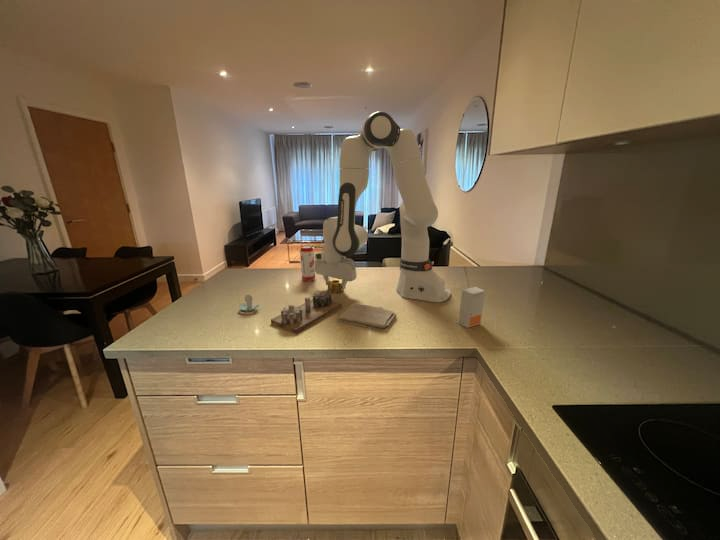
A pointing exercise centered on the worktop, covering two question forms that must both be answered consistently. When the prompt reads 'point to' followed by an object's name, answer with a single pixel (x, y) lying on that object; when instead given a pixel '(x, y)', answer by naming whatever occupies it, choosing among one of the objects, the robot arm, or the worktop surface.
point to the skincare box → (471, 307)
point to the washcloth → (368, 316)
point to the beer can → (307, 263)
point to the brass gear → (335, 285)
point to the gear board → (306, 312)
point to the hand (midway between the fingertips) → (335, 286)
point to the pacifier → (247, 305)
